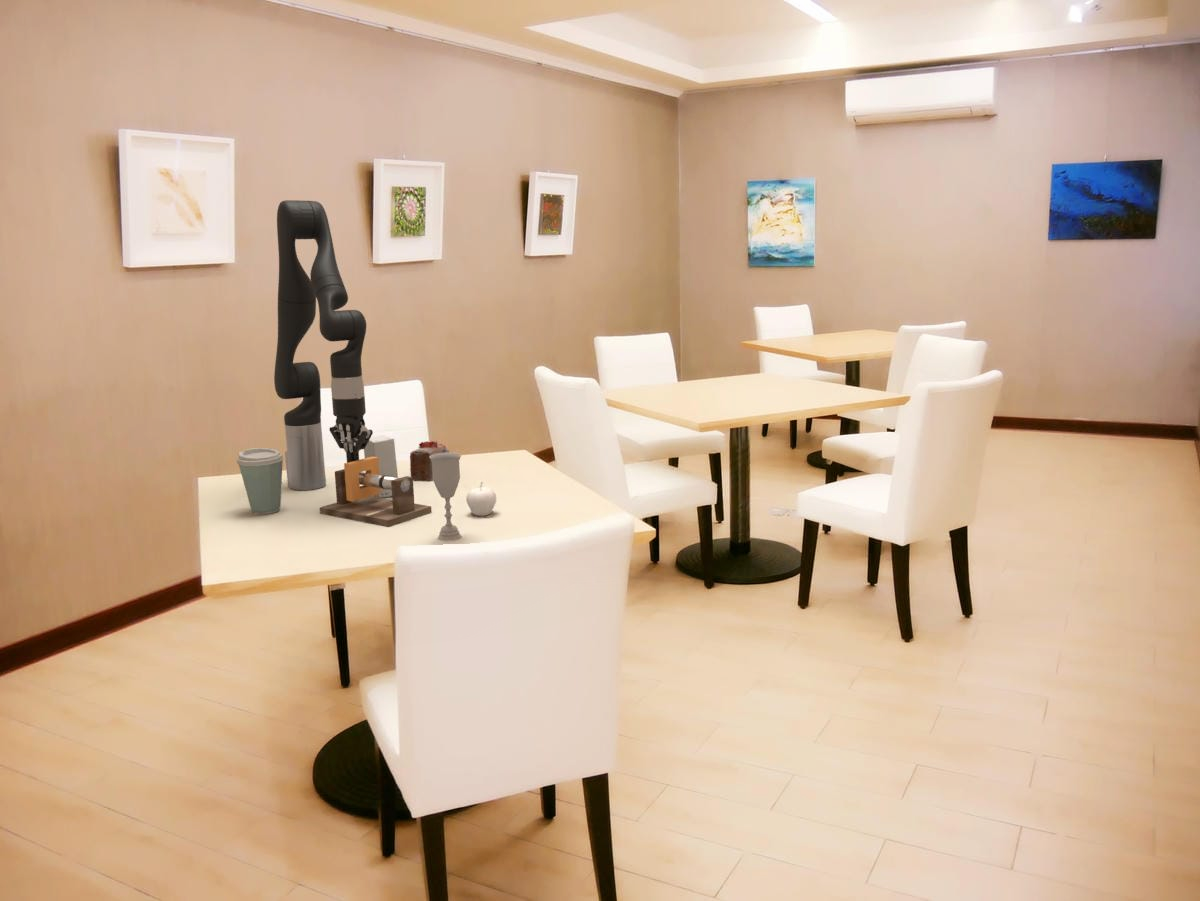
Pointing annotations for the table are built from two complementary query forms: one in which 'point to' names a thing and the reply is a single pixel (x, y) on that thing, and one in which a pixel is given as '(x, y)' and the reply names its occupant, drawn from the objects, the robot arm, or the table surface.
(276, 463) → the disposable coffee cup
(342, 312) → the robot arm
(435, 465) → the chalice
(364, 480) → the pipe
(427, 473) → the food item
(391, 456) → the skincare box
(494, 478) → the table surface
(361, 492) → the square ring
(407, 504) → the pipe stand
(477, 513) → the plain white apple
